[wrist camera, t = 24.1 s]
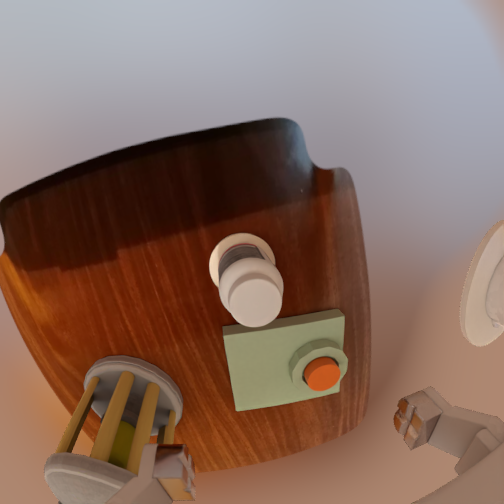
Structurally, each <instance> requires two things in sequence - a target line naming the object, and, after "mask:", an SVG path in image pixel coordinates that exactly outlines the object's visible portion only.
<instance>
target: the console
mask: <svg viewBox="0 0 504 504" xmlns="http://www.w3.org/2000/svg"><path fill="white" fill-rule="evenodd" d="M344 323H345V316H344V315H343V313H342V312H341V311H340V310H339V309H333V310H327V311H322V312H316V313H311V314H305V315H299V316H293V317H287V318H280V319H274V320H273V321H271V322H270V323H268V324H266V325H264V326H261V327H248V326H244V325H242V324H238V325H230V326H223V338H224V344H225V350H226V356H227V362H228V368H229V374H230V379H231V385H232V390H233V396H234V401H235V407H236V411H243V410H250V409H257V408H264V407H270V406H276V405H281V404H287V403H292V402H297V401H302V400H306V399H311V398H315V397H320V396H324V395H328V394H332V393H336V392H339V388H340V380H341V379H342V377H343V376H344V375H345V373H346V371H347V365H348V358H347V357H346V355H345V354H344V352H343V341H344ZM318 357H330V358H332V359H333V360H334V361H335V363H336V364H337V366H338V367H339V369H340V372H341V374H340V378H339V380H338V382H337V383H336V384H335V385H334V386H333V387H331V388H330V389H327V390H324V391H314V390H312V389H311V388H310V387H309V386H308V384H307V382H306V379H305V377H304V370H305V368H306V366H307V365H308V364H309V363H310V362H311V361H312V360H314V359H316V358H318Z"/></svg>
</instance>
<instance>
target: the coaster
mask: <svg viewBox="0 0 504 504" xmlns="http://www.w3.org/2000/svg"><path fill="white" fill-rule="evenodd" d="M242 242H248V243H252V244H255V245H257V246H258V247H260V248H261V249H262V250H263V251H264V252H265V253H266V254H267V256H268V257H269V259H270V260H271V261H272V263H273V264H274V265H275V258H274V254H273V252H272V250H271V248H270V247H269V245H268V244H267V243H266V242H265V241H264V240H263V239H261V238H260V237H258V236H256V235H253V234H250V233H235V234H232V235H229V236H227V237H225V238H224V239H222V240H221V241H220V242H219V243H218V244H217V245H216V246H215V248H214V249H213V251H212V253H211V256H210V261H209V271H210V275H211V278H212V280H213V282H214V283H215V285H216V286H217V287H218V288H219V276H218V264H219V260H220V257H221V255H222V254H223V252H224V251H225V250H226V249H227V248H229V247H230V246H232V245H234V244H237V243H242Z"/></svg>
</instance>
